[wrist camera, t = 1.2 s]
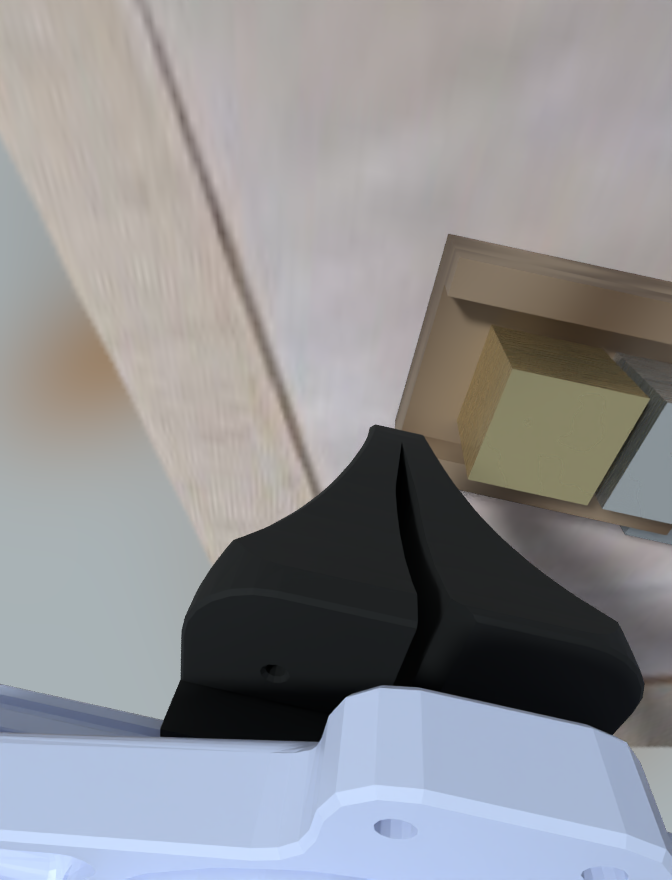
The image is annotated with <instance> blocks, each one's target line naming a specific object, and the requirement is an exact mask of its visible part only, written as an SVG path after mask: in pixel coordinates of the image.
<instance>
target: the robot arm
mask: <svg viewBox="0 0 672 880" xmlns="http://www.w3.org/2000/svg"><path fill="white" fill-rule="evenodd" d="M181 639H182V640H181V680H180V682H179V685H178V687H177V689H176V692H175V694H174V697H173V699H172V701H171V704H170V706H169V709H168V711H167V714H166V716H165V718H164V720H160V719H156V718H152V717H147V716H142V715H138V714H134V713H129V712H125V711H120V710H115V709H111V708H107V707H102V706H98V705H93V704H88V703H84V702H79V701H75V700H70V699H66V698H62V697H57V696H53V695H47V694H44V693H39V692H35V691H30V690H25V689H21V688H16V687H11V686H7V685H3V684H0V880H672V833H670V832H667V831H666V828H665V826H664V823H663V820H662V818H661V815H660V812H659V810H658V807H657V805H656V802H655V799H654V797H653V794H652V791H651V789H650V786H649V784H648V781H647V779H646V776H645V773H644V770H643V768H642V765H641V763H640V761H639V760H638V759H637V757H636V756H635V754H634V752H633V751H632V749H631V748H630V747H629V745H628V744H627V742H625V741H623V740H621V739H619V738H617V737H615V736H613V734H614V733H615V732H616V730H617V729H618V728H619V727H620V726H621V725H622V724H623V723H624V722H625V721H626V720H627V719H628V717H629V716H630V715H631V714H632V713H633V712H634V710H635V709H636V707H637V706H638V704H639V703H640V701H641V699H642V697H643V691H644V685H645V684H644V681H643V678H642V675H641V672H640V669H639V667H638V664H637V662H636V660H635V658H634V655H633V653H632V651H631V648H630V646H629V644H628V642H627V640H626V638H625V636H624V633H623V631H622V629H621V628H620V626H619V624H618V622H616V621H615V620H613V619H612V618H610V617H608V616H607V615H605V614H604V613H602V612H600V611H599V610H597V609H596V608H594V607H592V606H591V605H589V604H588V603H586V602H584V601H583V600H581V599H579V598H578V597H576V596H575V595H573V594H572V593H570V592H569V591H567V590H566V589H564V588H563V587H562V586H560V585H559V584H557V583H556V582H555V581H553V580H552V579H551V578H549V577H548V576H546V575H545V574H544V573H542V572H541V571H540V570H539V569H537V568H536V567H535V566H533V565H532V564H531V563H530V562H528V561H527V560H526V559H525V558H524V557H523V556H521V555H520V554H519V553H518V552H517V551H516V550H514V549H513V548H512V547H511V546H510V545H509V544H508V543H507V542H505V541H504V540H503V539H502V538H501V537H500V536H499V535H498V534H497V533H496V532H495V531H494V530H493V529H492V528H491V527H490V526H489V525H488V524H487V523H486V522H485V520H484V519H483V518H482V517H481V516H480V515H479V514H478V513H477V512H476V511H475V509H474V508H473V507H472V506H471V505H470V503H469V502H468V501H467V500H466V498H465V497H464V496H463V495H462V493H461V492H460V491H459V489H458V488H457V487H456V485H455V484H454V483H453V481H452V480H451V478H450V477H449V475H448V474H447V472H446V471H445V469H444V468H443V466H442V465H441V463H440V462H439V460H438V458H437V457H436V455H435V454H434V452H433V450H432V449H431V447H430V445H429V444H428V442H427V440H426V439H425V437H424V436H423V435H421V434H416V433H412V432H407V431H402V430H398V429H393V428H389V427H384V426H380V425H374V426H372V427H370V429H369V433H368V437H367V439H366V441H365V443H364V444H363V446H362V448H361V449H360V451H359V452H358V453H357V455H356V456H355V457H354V459H353V460H352V462H351V463H350V464H349V465H348V466H347V467H346V468H345V470H344V471H343V472H342V473H341V474H340V475H339V476H338V477H337V478H336V479H335V480H334V481H333V482H332V483H331V484H330V485H329V486H328V487H327V488H326V489H325V490H324V491H322V492H321V493H320V494H319V495H318V496H316V497H315V498H314V499H312V500H311V501H310V502H308V503H307V504H306V505H304V506H303V507H301V508H300V509H298V510H297V511H295V512H294V513H292V514H290V515H288V516H287V517H285V518H283V519H281V520H279V521H278V522H276V523H274V524H272V525H270V526H268V527H266V528H264V529H261V530H259V531H256V532H254V533H251V534H249V535H246V536H244V537H241V538H238V539H235V540H233V541H232V542H231V543H230V545H229V546H228V547H227V548H226V549H225V551H224V552H223V553H222V554H221V556H220V557H219V558H218V560H217V561H216V562H215V564H214V565H213V566H212V568H211V569H210V571H209V572H208V574H207V575H206V577H205V579H204V580H203V582H202V583H201V585H200V586H199V588H198V590H197V592H196V594H195V596H194V598H193V601H192V603H191V605H190V607H189V609H188V611H187V614H186V616H185V619H184V623H183V627H182V637H181Z"/></svg>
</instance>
